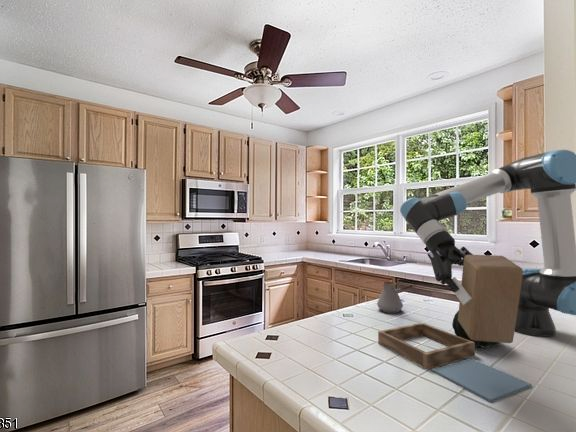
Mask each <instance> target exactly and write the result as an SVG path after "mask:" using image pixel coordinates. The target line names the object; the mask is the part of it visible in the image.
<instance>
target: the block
mask: <svg viewBox="0 0 576 432" xmlns="http://www.w3.org/2000/svg"><path fill="white" fill-rule="evenodd" d="M522 269H523V267H520V266H519V265H517V264H516V263H515V262H513V261H511V260H510V259H508V258H507V257H506V256H504V255H492V254H491V255H489V254H486V255H485V254H473V255H465V257H464V263H463V266H462V272H461V274H462V275H461V283H460V284H461V285H462V286H463V288H464V289H465V290H466V291H467V293H468V294H469V295H470V297H471V298H472V299H471V300H470V301H469V302H468V303H467V304H465V305H463V304H462V303H461V301H460V300H459V306H458V310H459V313H458V321H459V323H460V324H461V326H462V327H463V329H464V330H465V332H466V333H467V335H468V336H469V338H470V339H471V340H474V341H487V342H499V344H500V343H502V344H512V343H513V342H514V337H515V332H516V331H515V324H516V318H517V311H518V304H519V297H520V290H521V283H522V276H523V270H522Z"/></svg>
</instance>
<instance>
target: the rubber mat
mask: <svg viewBox="0 0 576 432" xmlns="http://www.w3.org/2000/svg"><path fill="white" fill-rule="evenodd" d="M432 373H435V374H436V375H438V376H439V377H442V378H444V379H446V380H447V381H450V382H452V383H453V384H455V385H457V386H459V387H461V388H463V389H464V390H466V391H468V392H471V393H472V394H474V395H476V396H477V397H480V398H482V399H483V400H485V401H487V402H489V403H493V402H496V401H497V400H500V399H502V398H506V397H508V396H510V395H513V394H516V393H518V392H521V391H524V390H526V389H529V388H531V387H533V384H532V383H530V382H527V381H526V380H523V379H521V378H519V377H517V376H514V375H512V374H509V373H507V372H505V371H502V370H501V369H497V368H496V367H492V366H490V365H488V364H486V363H483V362H481V361H479V360H476V359H474V358H472V357H470V358H467V359H464V360H460V361H457V362H454V363H450V364H447V365H442V366H440V367H435V368H433V369H432Z"/></svg>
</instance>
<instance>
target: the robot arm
mask: <svg viewBox="0 0 576 432" xmlns="http://www.w3.org/2000/svg"><path fill="white" fill-rule="evenodd" d="M529 189H530V194H531V195H532V196H533V197H535V198H536V199H537V200H536V201H537V209H538V219H539V220H538V221H539V230H540V237H541V238H540V239H541V248H542V257H543V264H544V265H543V268H522V270H523V276H522V283H521V290H520V297H519V304H518V311H517V318H516V324H515V331H514V332H517V333H520V334H524V335H530V336H535V337H537V336H538V337H552V336H555V335H556V334H557V333H556V332H557V328H556V326H555V325H556V324H555V322H554V320H553V318H552V315H551V312H550V309H551V310H554V311H557V312H560V313H561V314H565V315H567V314H568V315H572V316H576V236H575V225H574V215H573V206H572V198H571V197H572V195H573V193H574V192H575V191H576V153H575V152H574V151H572V150H570V149H569V150H568V149H557V150H551V151H546V152H542V153H539V154H535V155H529V156H526V157H523V158H519V159H518V160H515V161H513V162H510V163H508V164H506V165H504V166H501V167H499V168H495V169H494V170H492V171H491V172H490V173H489V174H487V175H484V176H482V177H478V178H476V179H472V180H470V181H467V182H465V183H462V184H459V185H456V186H453V187H449V188H447V189H445V190H442V191H438V192H436V193H434V194H431V195H428V196H425V197H422V198H421V197H420V198H418V197H410V198H408V199H406V200H405V201H404V202H403V203H402V204H401V206H400V209H399V211H400V214H401V216H402V217H403V218H404V220H405V222H407V224H408V225H409V226H410V228H411V229H412V230H413V232H415V233H416V235H417V236H418V238H419V239H420V240H421V241H422V243H423V244H424V245H425V247H426V248H427V249H428V251H429V252H428V254H427V257H428V258H429V260H430V262H431V266H432V271H433V273H434V277H435V280H436V281H437V282H440V284H441V285H447V286H448V288H449V289H450V291H451V292H453V293H454V295H455V296H456V298H458V300H459V302H460V301H461V303H462V304H463V305H465V304H467V303H468V302H469V301H470V300H471V299H472V298H471V297H470V295H469V294H468V293H467V291H466V290H465V289H464V288H463V286H462V285H461V283H460V281H459V280H458V279H457V278H456V277H455V276H453V271H452V269H453V268H452V265H457V266H460V267H463V263H464V257H465V255H474V253H472V252H471V251H469V250H468V249H467V248H466V247H465V246H462V247H461V248H458V247H457V246H456V245H455V244H456V240H455V238H454V237H453V236H452V235H451V234H450V232H448V231H447V229H446V228H445V227H444V225H442V224H441V223H440V221H443V220H446V219H449V218H452V217H455V216H458V215H460V214H462V213H464V212H465V211H466V210H467V206H468V204H471V203H473V202H476V201H479V200H483V199H484V198H486V197H487V198H489V197H490V196H493V195H496V194H498V193H499V194H507V193H510V192H513V191H520V190H529Z"/></svg>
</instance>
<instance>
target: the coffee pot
mask: <svg viewBox="0 0 576 432" xmlns="http://www.w3.org/2000/svg"><path fill="white" fill-rule="evenodd" d="M382 285H383V289H382V291H381V293H380V295H379V296H378V297H379V298H378V300H377V301H376V302H377V303H376V305H377V307H378V309H379V310H380V311H382V312H384V313H386V314H395V313H399V312H400V311H401V310H402V309H403V306H404V304H403V302H402V299H401V298H400V296H399V293H398V292H399V291H402V290H407V289H409V288H413V289H414V290H417V289H418V285H416V283H413V284H408V285H405V286H402V287H400V288H396V286H397V282H395V281H383V282H382ZM415 286H416V288H414V287H415Z"/></svg>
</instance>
